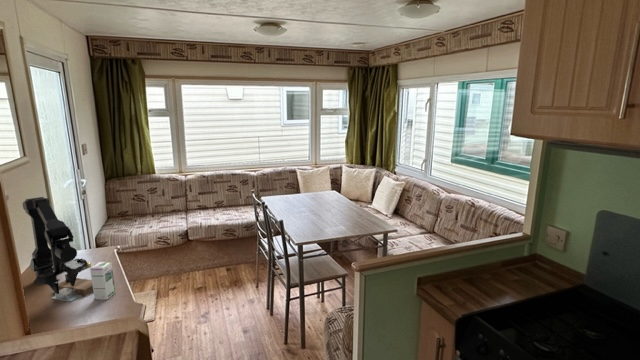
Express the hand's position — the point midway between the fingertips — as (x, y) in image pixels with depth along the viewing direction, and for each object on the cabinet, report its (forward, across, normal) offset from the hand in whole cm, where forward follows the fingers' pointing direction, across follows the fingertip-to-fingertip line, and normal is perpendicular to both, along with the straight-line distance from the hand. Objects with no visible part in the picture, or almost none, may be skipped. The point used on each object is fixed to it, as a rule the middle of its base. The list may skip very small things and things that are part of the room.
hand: (65, 289), depth 147 cm
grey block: (+3, 0, 0) cm, 3 cm away
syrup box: (+4, +5, -15) cm, 16 cm away
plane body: (+4, +7, +1) cm, 8 cm away
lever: (0, +12, +5) cm, 13 cm away
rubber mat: (+4, 0, 0) cm, 4 cm away
